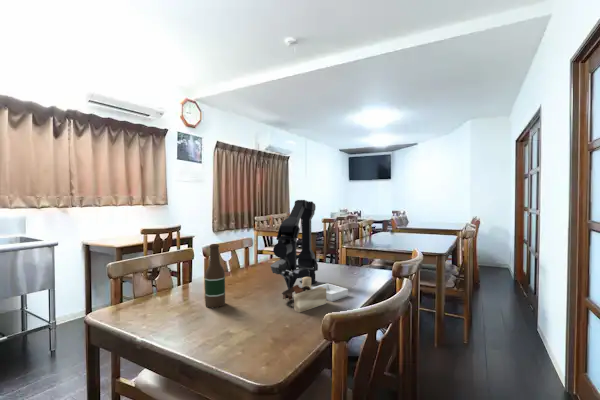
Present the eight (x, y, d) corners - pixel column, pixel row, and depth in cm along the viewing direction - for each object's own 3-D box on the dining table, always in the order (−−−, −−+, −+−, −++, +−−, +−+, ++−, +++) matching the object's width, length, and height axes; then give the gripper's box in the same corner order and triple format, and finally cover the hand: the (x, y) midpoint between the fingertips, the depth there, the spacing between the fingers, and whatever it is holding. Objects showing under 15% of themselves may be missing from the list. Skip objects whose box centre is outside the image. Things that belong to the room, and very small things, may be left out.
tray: (311, 294, 134) (311, 287, 134) (327, 289, 140) (327, 283, 140) (331, 301, 125) (331, 294, 125) (348, 296, 131) (348, 289, 131)
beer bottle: (229, 302, 126) (228, 243, 125) (218, 309, 118) (217, 246, 118) (212, 300, 128) (211, 242, 128) (201, 307, 121) (199, 245, 121)
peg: (300, 291, 139) (300, 277, 139) (307, 289, 142) (307, 276, 142) (306, 293, 136) (306, 279, 136) (313, 291, 139) (313, 277, 139)
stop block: (294, 310, 116) (294, 294, 116) (321, 301, 125) (320, 286, 125) (299, 312, 114) (299, 296, 114) (326, 303, 123) (326, 288, 123)
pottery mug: (294, 311, 116) (284, 290, 118) (285, 314, 124) (276, 295, 126) (319, 297, 123) (309, 277, 125) (309, 301, 130) (300, 283, 132)
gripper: (260, 252, 130) (261, 289, 131) (288, 259, 116) (288, 300, 117) (281, 249, 138) (282, 284, 138) (310, 255, 124) (310, 294, 124)
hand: (290, 290), depth 129 cm, fingers closed
